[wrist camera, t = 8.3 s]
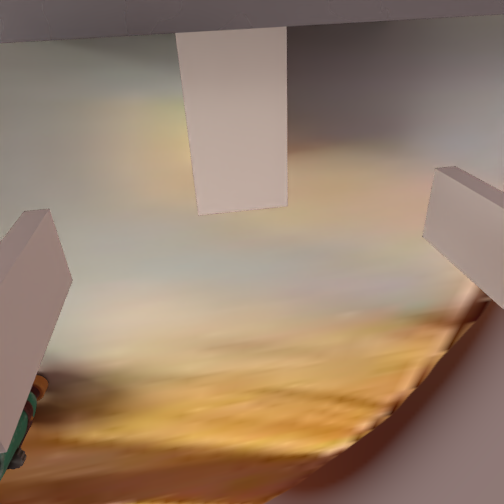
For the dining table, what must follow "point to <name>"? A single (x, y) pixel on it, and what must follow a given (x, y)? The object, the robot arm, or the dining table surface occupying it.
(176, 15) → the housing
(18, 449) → the binoculars
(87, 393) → the dining table surface
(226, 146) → the grey rectangular block
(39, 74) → the dining table surface
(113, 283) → the dining table surface
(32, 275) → the robot arm
